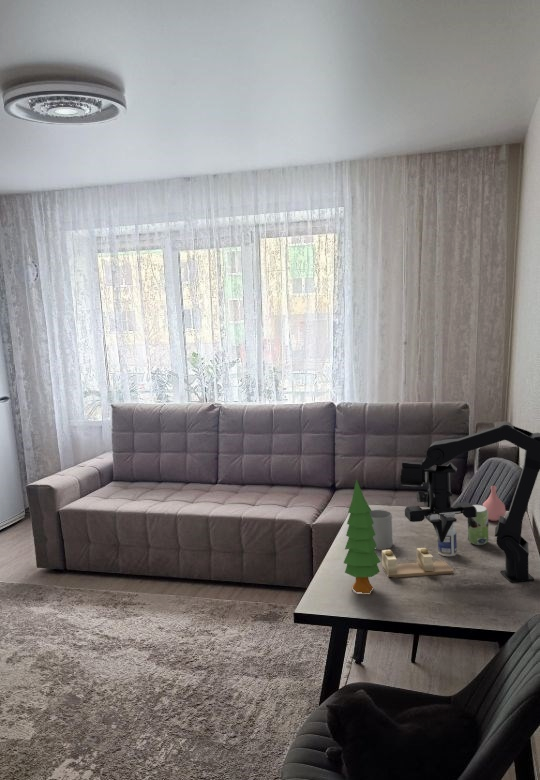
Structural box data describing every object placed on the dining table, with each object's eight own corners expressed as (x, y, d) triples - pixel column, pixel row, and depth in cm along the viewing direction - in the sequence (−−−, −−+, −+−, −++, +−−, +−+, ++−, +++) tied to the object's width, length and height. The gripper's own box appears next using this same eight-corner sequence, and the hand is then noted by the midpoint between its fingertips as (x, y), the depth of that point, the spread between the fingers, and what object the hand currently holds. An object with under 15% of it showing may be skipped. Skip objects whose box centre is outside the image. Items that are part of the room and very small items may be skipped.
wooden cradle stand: (453, 573, 156) (452, 552, 156) (388, 577, 155) (387, 557, 155) (444, 563, 163) (443, 543, 163) (382, 567, 162) (381, 547, 162)
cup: (390, 550, 175) (389, 518, 174) (364, 548, 178) (362, 517, 177) (394, 540, 183) (393, 510, 182) (368, 539, 186) (367, 509, 185)
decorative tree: (345, 597, 145) (340, 482, 143) (342, 581, 155) (338, 473, 152) (383, 596, 145) (379, 481, 142) (378, 580, 154) (374, 472, 151)
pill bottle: (448, 548, 174) (448, 518, 173) (460, 554, 169) (459, 523, 168) (434, 552, 172) (433, 520, 171) (445, 558, 167) (444, 526, 166)
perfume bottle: (507, 524, 193) (507, 489, 192) (483, 523, 195) (483, 489, 193) (503, 517, 200) (503, 483, 199) (480, 516, 202) (480, 483, 201)
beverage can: (485, 539, 180) (484, 502, 179) (492, 547, 173) (491, 509, 172) (465, 539, 181) (464, 502, 180) (470, 548, 174) (469, 509, 172)
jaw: (433, 570, 156) (432, 554, 156) (424, 571, 156) (423, 554, 156) (425, 561, 163) (424, 545, 162) (417, 561, 163) (416, 545, 162)
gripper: (461, 477, 166) (462, 529, 167) (398, 482, 165) (400, 534, 167) (477, 487, 155) (478, 543, 156) (409, 492, 154) (411, 548, 155)
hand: (441, 541), depth 159 cm, fingers closed
